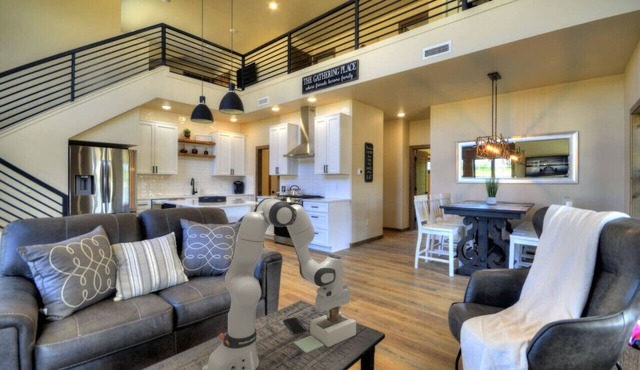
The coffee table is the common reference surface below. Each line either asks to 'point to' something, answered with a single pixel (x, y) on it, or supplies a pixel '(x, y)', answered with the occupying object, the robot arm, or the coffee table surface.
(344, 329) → the slotted box
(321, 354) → the coffee table surface
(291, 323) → the phone
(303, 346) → the sage mat
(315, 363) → the coffee table surface
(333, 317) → the walnut block
